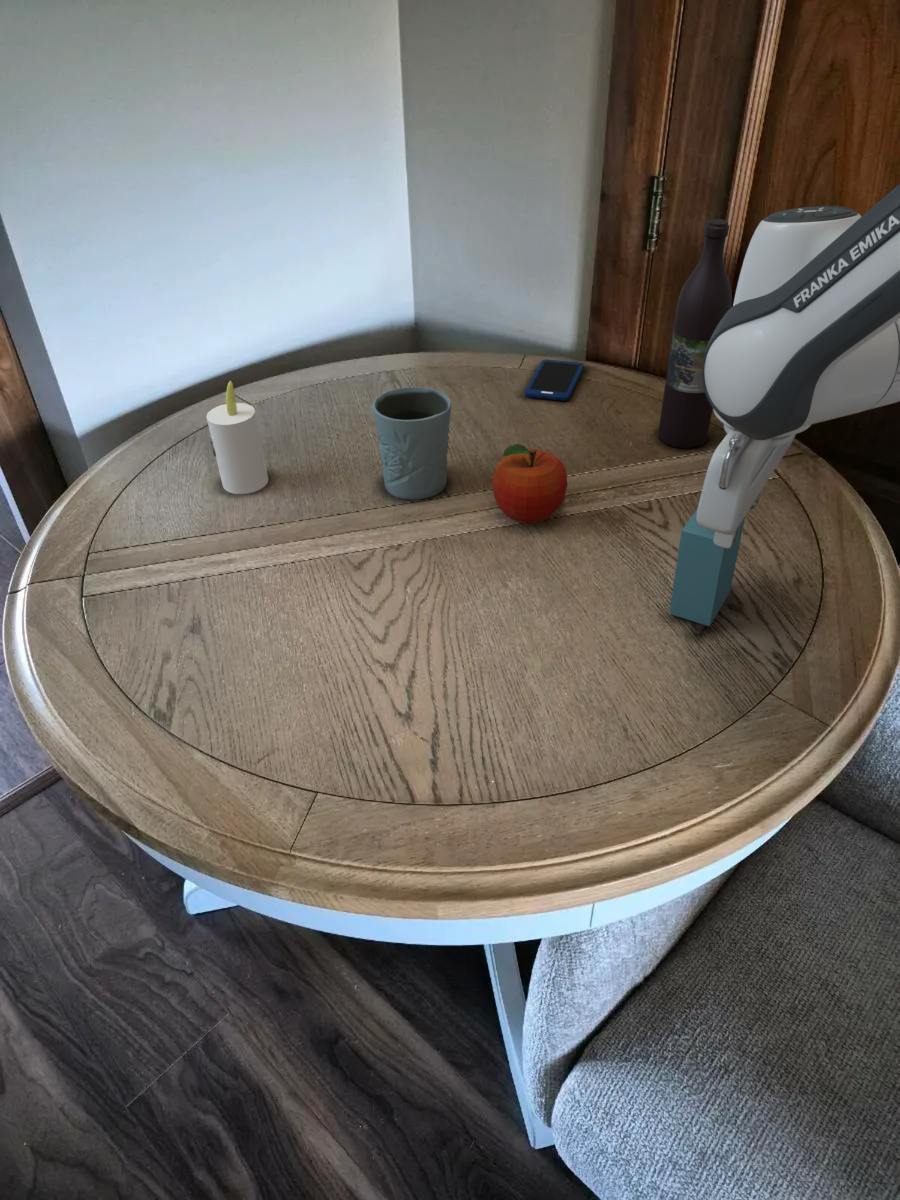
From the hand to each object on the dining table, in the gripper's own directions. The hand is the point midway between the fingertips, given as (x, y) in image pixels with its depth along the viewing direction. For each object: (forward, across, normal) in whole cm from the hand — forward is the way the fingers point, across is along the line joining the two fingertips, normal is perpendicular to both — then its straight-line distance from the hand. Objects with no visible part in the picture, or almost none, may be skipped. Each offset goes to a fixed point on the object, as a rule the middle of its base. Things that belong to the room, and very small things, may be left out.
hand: (736, 523), depth 84 cm
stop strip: (+12, 0, 0) cm, 12 cm away
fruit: (+12, +7, +27) cm, 30 cm away
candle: (+12, -6, +65) cm, 67 cm away
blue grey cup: (+12, +6, +44) cm, 46 cm away
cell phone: (+12, +44, +42) cm, 62 cm away
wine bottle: (+12, +36, +17) cm, 41 cm away
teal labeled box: (+6, 0, 0) cm, 6 cm away
